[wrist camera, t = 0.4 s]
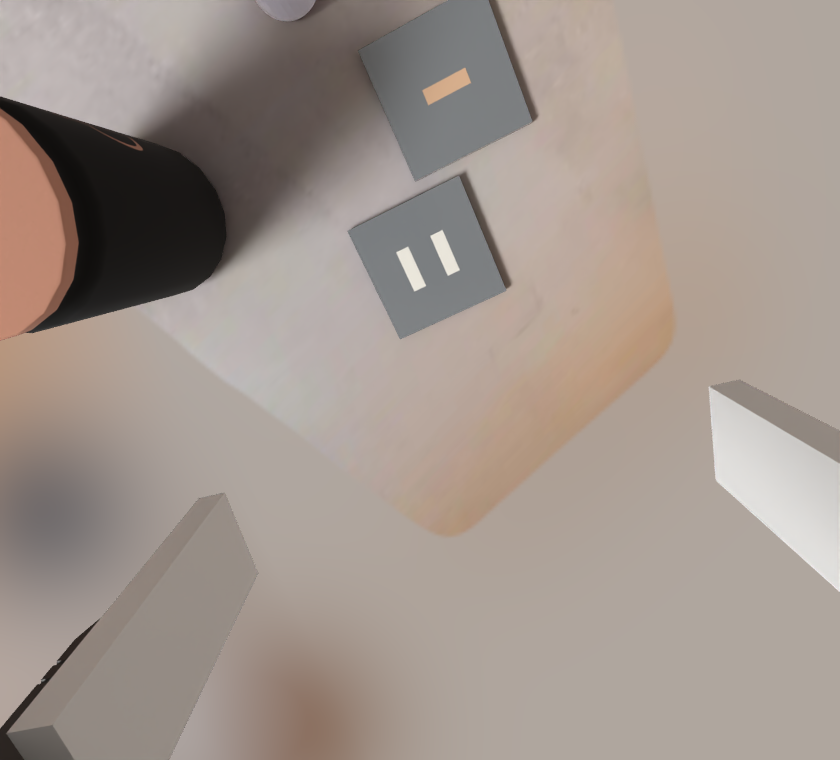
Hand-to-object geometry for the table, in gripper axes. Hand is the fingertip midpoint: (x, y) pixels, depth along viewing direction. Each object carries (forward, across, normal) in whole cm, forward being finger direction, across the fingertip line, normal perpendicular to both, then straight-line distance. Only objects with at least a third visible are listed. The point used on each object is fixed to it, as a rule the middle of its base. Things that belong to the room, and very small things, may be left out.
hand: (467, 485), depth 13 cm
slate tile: (+27, +4, +15) cm, 31 cm away
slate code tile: (+27, 0, +4) cm, 27 cm away
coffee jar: (+27, -19, +12) cm, 35 cm away
